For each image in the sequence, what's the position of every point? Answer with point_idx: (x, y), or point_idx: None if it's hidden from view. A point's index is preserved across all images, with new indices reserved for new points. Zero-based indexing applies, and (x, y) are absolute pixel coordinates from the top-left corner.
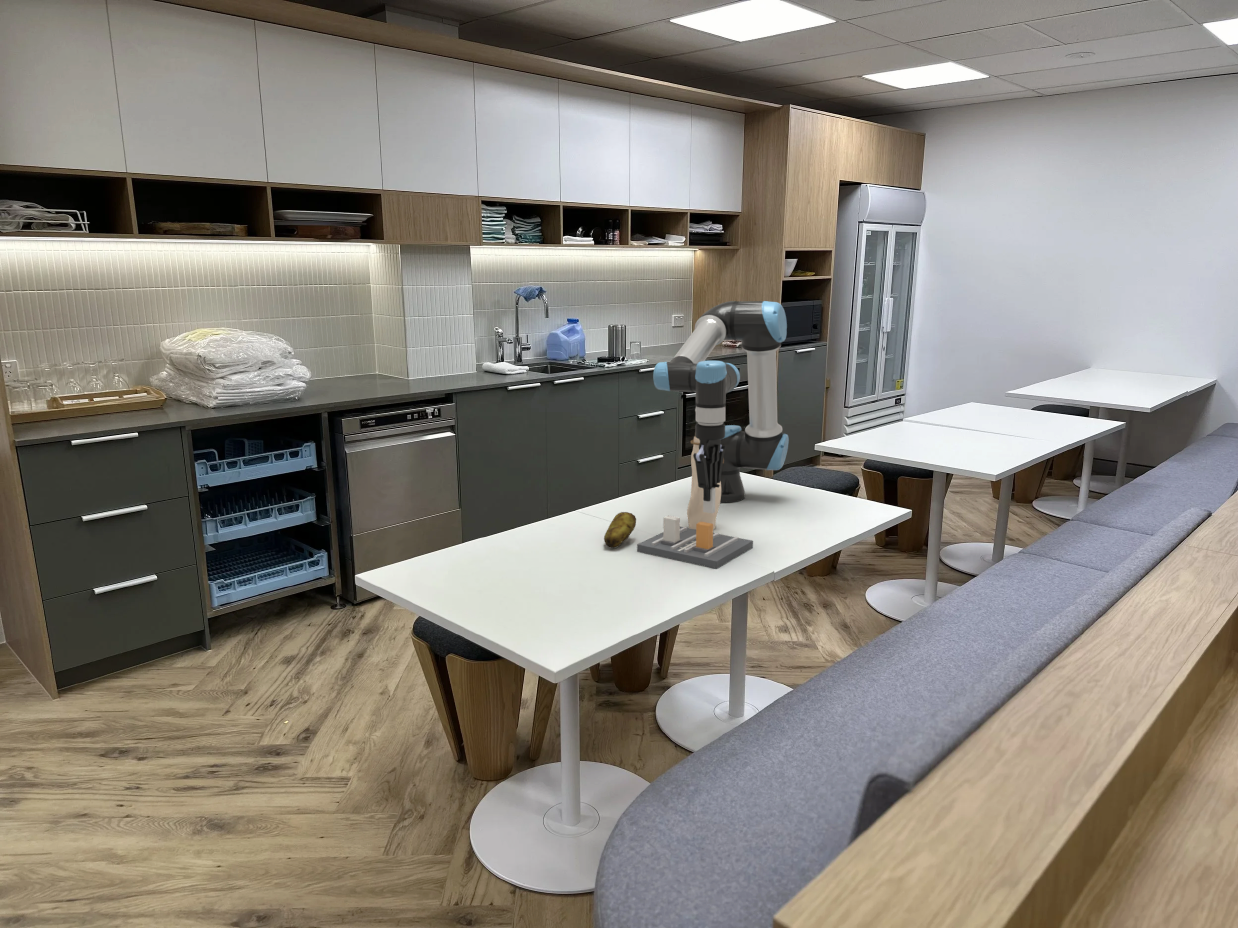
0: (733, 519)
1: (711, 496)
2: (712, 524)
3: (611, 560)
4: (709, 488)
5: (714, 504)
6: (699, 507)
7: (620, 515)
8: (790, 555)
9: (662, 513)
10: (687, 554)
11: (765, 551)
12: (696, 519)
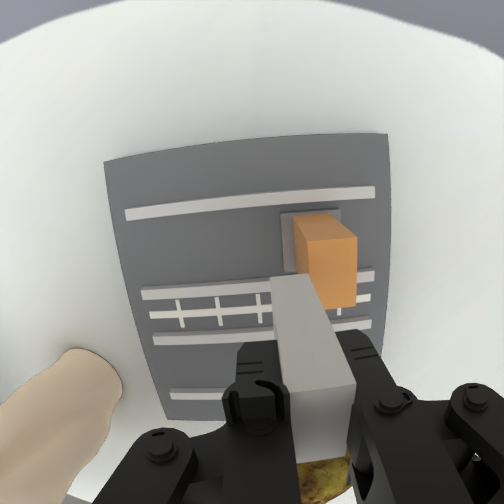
0: (6, 341)
1: (336, 343)
2: (314, 240)
3: (442, 383)
4: (408, 395)
5: (285, 300)
6: (85, 418)
7: (334, 497)
8: (109, 35)
9: (105, 462)
10: (385, 254)
11: (119, 108)
12: (106, 399)
